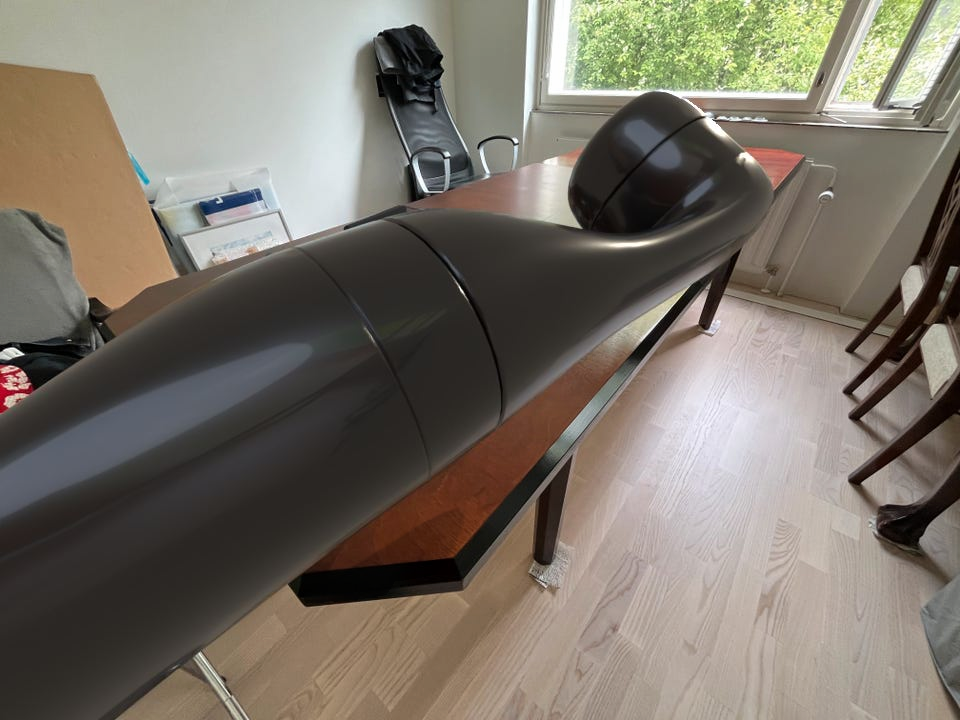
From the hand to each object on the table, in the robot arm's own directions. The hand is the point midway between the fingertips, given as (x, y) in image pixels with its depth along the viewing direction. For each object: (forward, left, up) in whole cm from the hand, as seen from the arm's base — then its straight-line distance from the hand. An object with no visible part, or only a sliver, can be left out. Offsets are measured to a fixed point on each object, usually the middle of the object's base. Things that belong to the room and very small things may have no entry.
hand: (406, 305), depth 49 cm
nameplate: (+59, +5, -15) cm, 61 cm away
